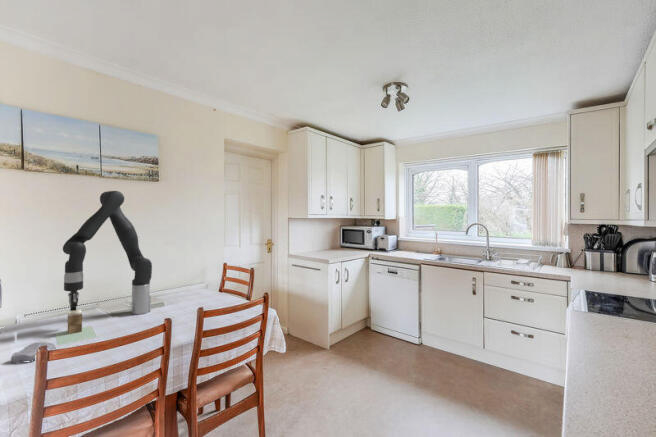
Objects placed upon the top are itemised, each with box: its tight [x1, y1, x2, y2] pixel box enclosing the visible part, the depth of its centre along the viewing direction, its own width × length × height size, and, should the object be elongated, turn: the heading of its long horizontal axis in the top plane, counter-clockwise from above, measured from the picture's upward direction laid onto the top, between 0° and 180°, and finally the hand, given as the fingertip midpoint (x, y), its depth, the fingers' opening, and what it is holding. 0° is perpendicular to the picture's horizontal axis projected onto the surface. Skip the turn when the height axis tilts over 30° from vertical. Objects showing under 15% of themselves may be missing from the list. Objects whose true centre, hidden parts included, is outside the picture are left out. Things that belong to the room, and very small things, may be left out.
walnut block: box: [67, 309, 83, 334], centre depth 149 cm, size 5×5×10 cm
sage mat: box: [54, 325, 98, 346], centre depth 146 cm, size 14×18×1 cm
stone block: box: [10, 341, 57, 364], centre depth 126 cm, size 12×5×10 cm
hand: (73, 314), depth 153 cm, fingers closed
